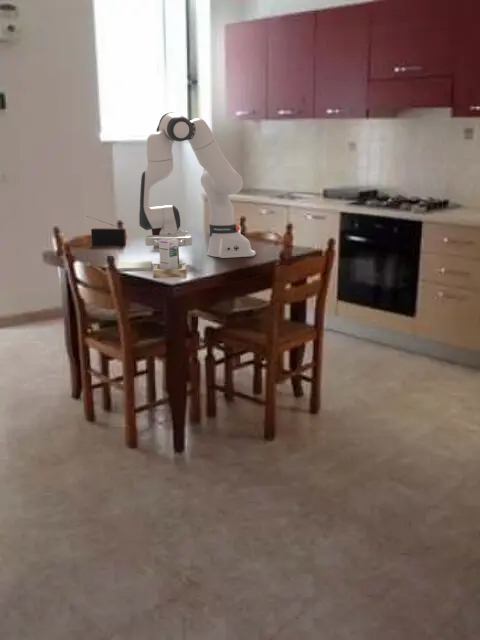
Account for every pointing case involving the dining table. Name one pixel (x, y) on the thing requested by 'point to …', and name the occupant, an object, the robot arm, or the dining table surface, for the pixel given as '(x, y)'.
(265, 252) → the dining table surface
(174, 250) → the syrup box
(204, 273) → the dining table surface
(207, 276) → the dining table surface
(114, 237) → the radio
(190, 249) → the dining table surface
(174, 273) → the birch holder
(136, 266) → the sage mat
